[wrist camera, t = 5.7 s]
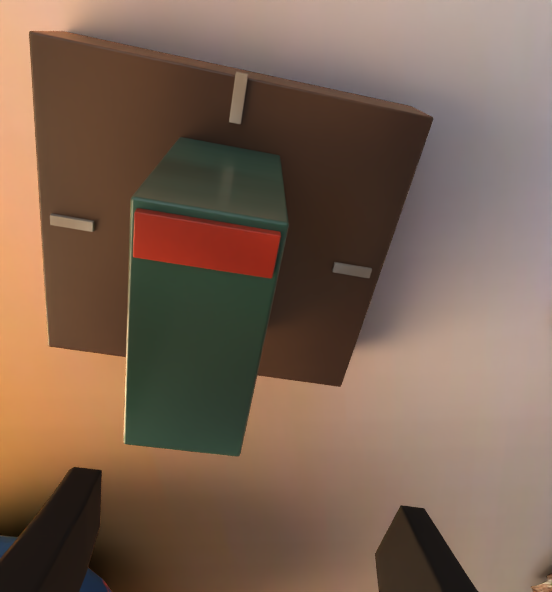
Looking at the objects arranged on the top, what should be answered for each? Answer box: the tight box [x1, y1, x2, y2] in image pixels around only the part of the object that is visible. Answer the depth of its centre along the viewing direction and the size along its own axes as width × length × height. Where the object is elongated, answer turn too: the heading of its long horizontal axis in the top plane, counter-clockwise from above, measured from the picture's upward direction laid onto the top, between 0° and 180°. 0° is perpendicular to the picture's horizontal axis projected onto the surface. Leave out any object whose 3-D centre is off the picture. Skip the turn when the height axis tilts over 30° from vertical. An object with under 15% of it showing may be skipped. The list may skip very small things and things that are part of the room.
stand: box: [29, 31, 433, 387], centre depth 17 cm, size 12×11×3 cm
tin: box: [123, 137, 289, 457], centre depth 13 cm, size 7×3×6 cm, turn 169°
